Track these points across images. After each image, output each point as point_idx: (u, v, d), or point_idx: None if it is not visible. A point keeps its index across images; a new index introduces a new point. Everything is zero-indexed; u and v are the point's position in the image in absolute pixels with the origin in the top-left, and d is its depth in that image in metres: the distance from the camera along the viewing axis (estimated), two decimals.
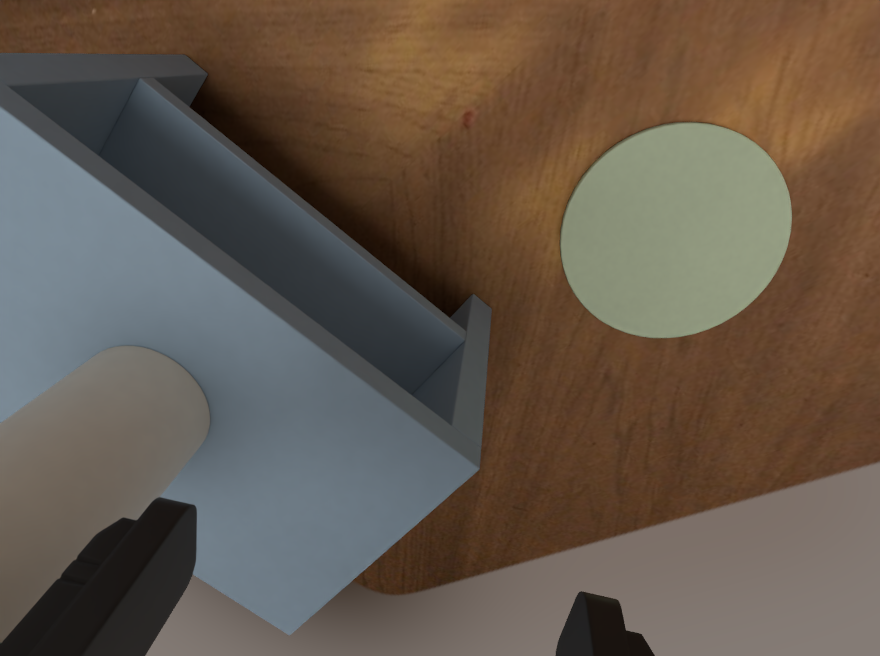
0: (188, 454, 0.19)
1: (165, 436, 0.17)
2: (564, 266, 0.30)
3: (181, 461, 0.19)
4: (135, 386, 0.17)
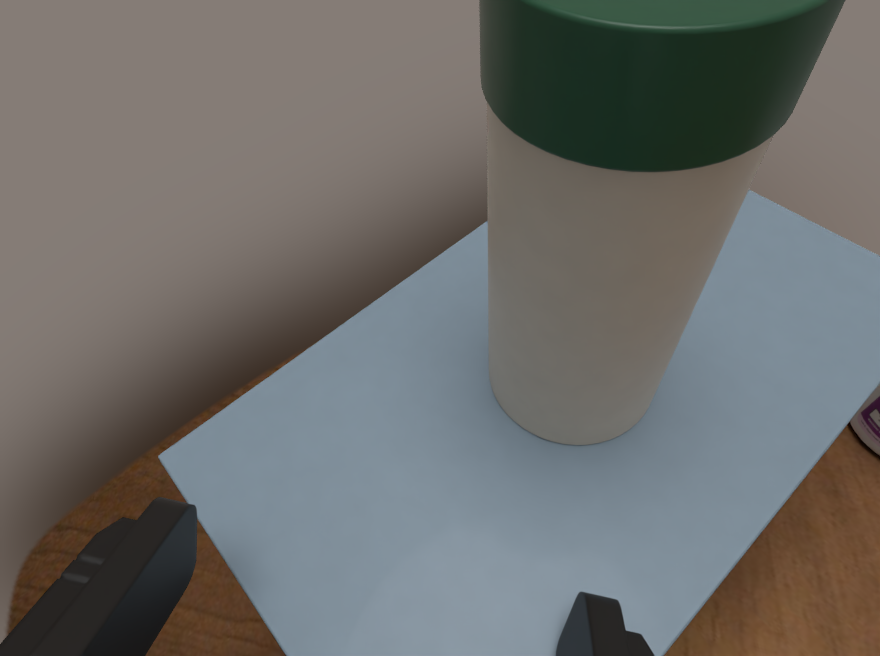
0: (541, 411, 0.14)
1: (606, 399, 0.13)
2: None
3: (545, 403, 0.14)
4: (659, 380, 0.14)
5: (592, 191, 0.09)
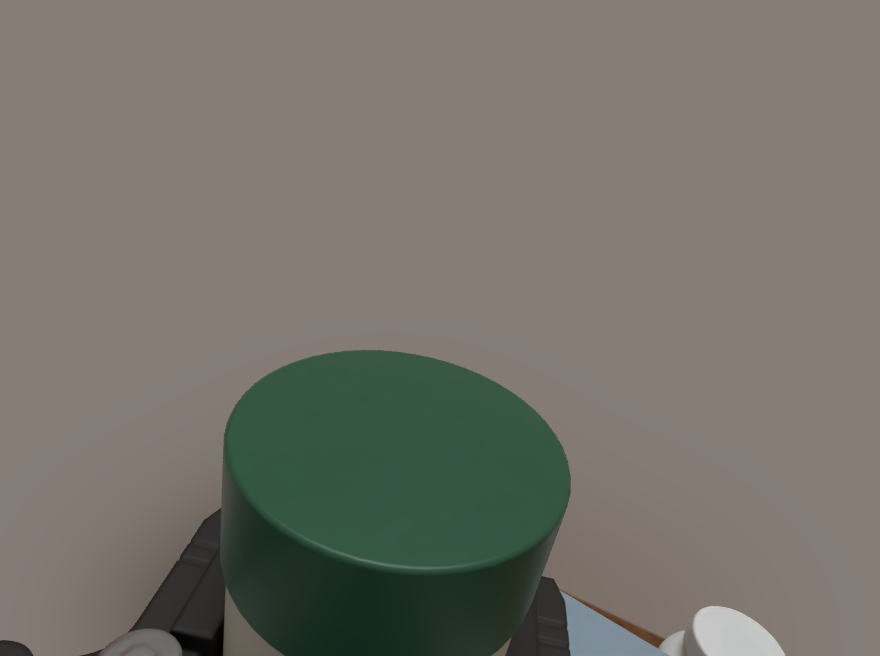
0: None
1: None
2: None
3: None
4: None
5: None
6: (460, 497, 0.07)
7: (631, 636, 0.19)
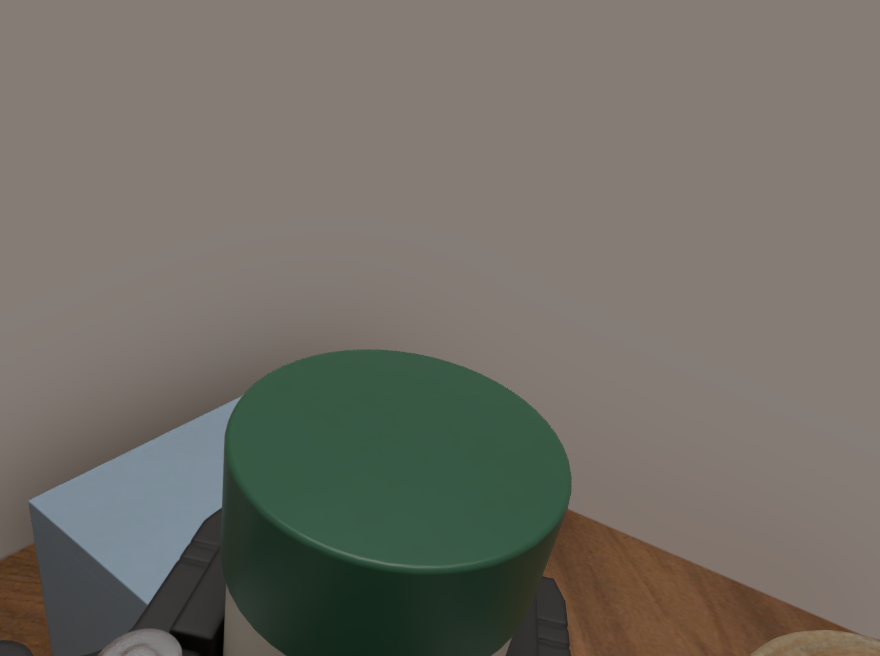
0: None
1: None
2: None
3: None
4: None
5: None
6: (461, 497, 0.07)
7: None
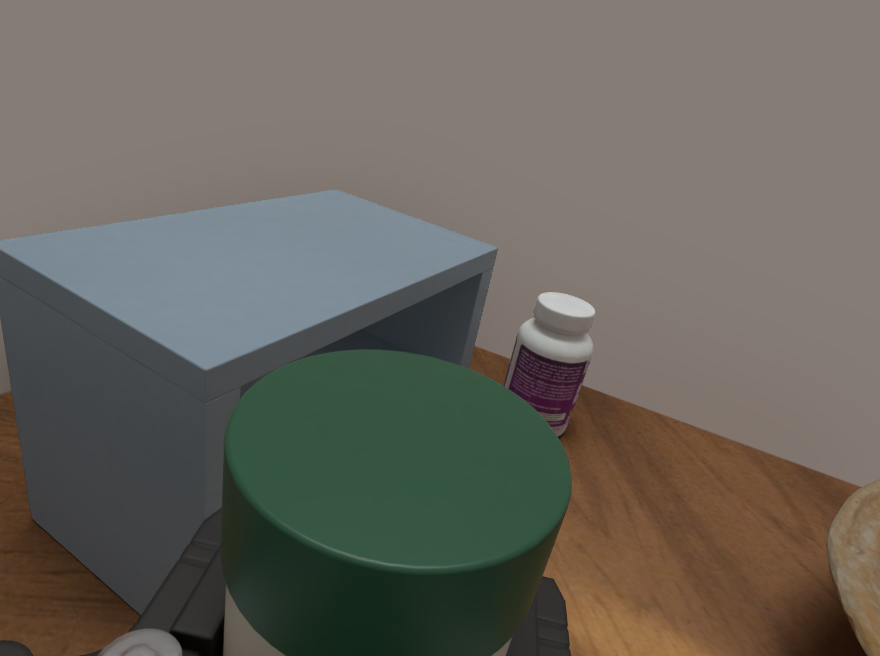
0: None
1: None
2: None
3: None
4: None
5: None
6: (461, 497, 0.07)
7: (474, 239, 0.34)
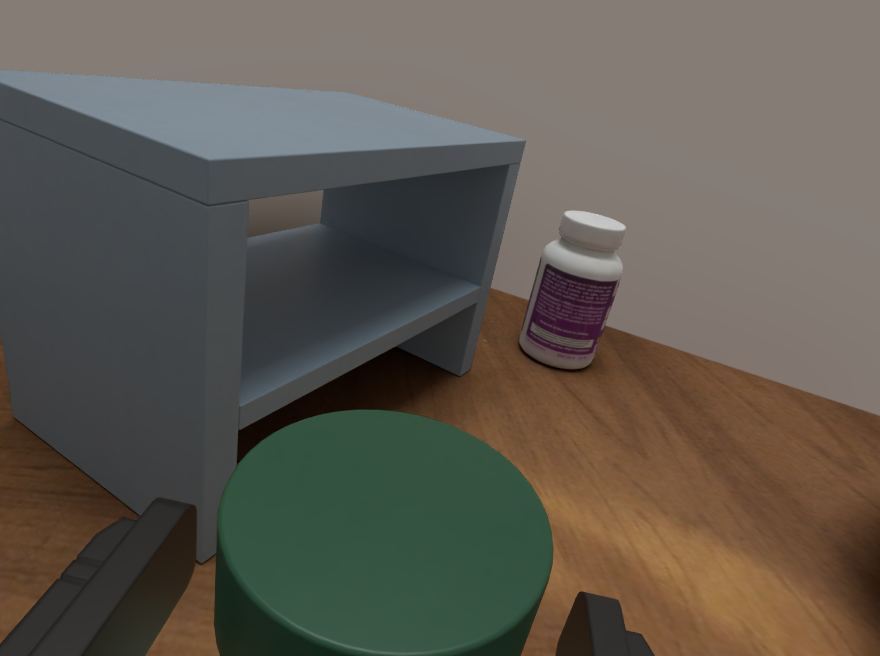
0: None
1: None
2: None
3: None
4: None
5: None
6: (446, 574, 0.08)
7: (500, 133, 0.31)
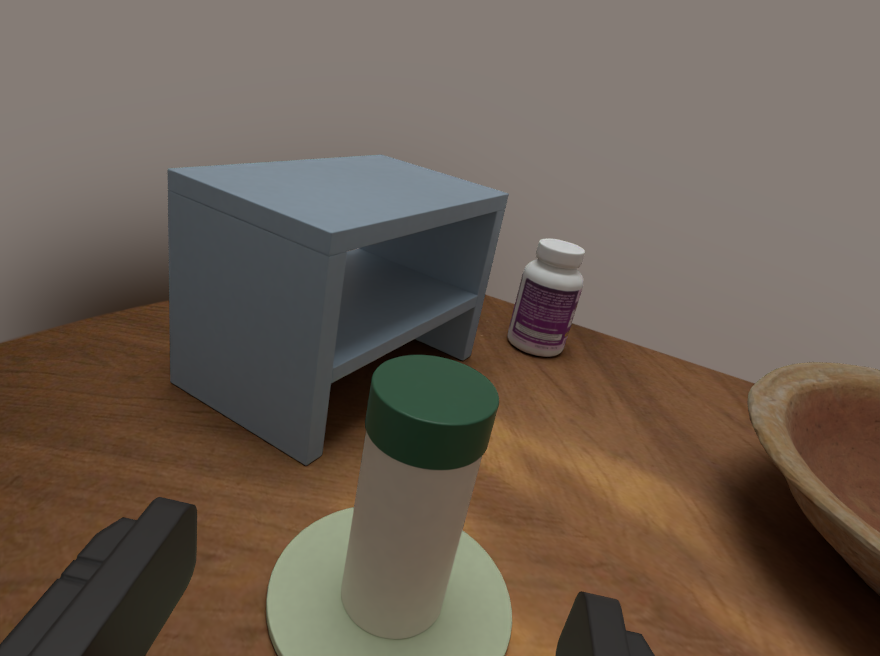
0: (381, 612, 0.24)
1: (420, 596, 0.24)
2: None
3: (384, 605, 0.24)
4: (446, 586, 0.25)
5: (416, 477, 0.21)
6: (457, 406, 0.21)
7: (490, 188, 0.44)
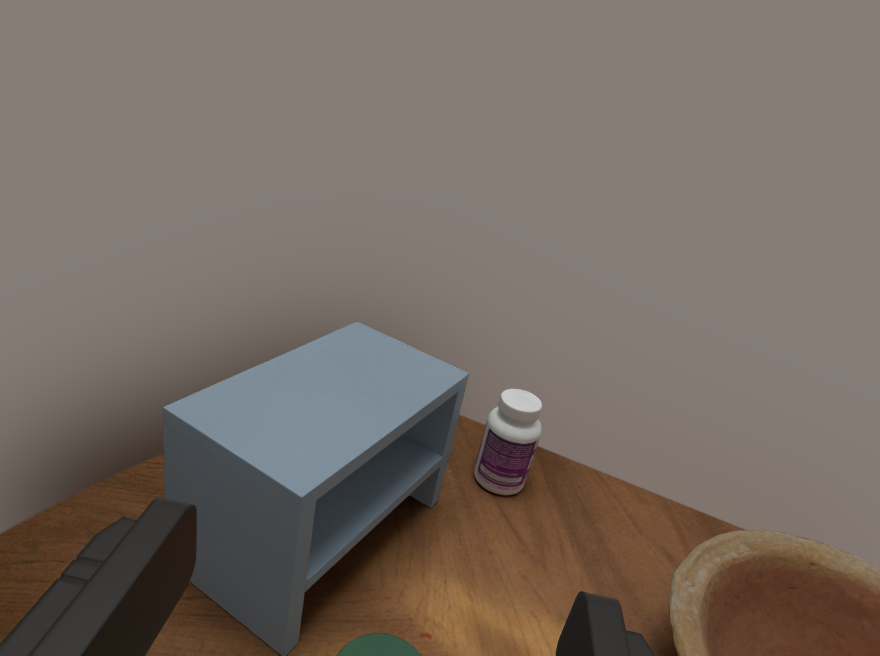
0: None
1: None
2: None
3: None
4: None
5: None
6: None
7: (453, 367, 0.50)
